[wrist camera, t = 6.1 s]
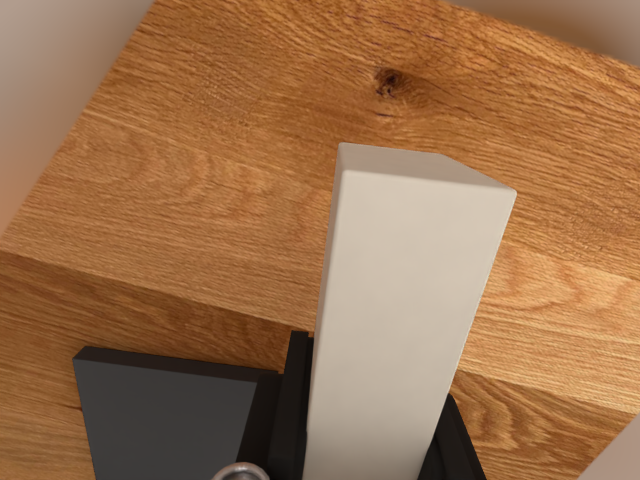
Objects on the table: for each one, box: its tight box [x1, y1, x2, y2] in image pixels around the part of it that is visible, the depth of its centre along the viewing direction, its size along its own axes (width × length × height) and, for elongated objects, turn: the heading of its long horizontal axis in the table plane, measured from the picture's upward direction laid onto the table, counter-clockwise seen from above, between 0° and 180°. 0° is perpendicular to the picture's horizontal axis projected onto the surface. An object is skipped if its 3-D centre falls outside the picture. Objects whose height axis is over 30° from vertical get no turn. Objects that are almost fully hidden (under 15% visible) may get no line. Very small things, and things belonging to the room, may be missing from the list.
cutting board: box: [72, 346, 278, 480], centre depth 32 cm, size 16×26×2 cm, turn 172°
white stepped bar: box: [302, 142, 517, 480], centre depth 10 cm, size 19×3×4 cm, turn 174°
